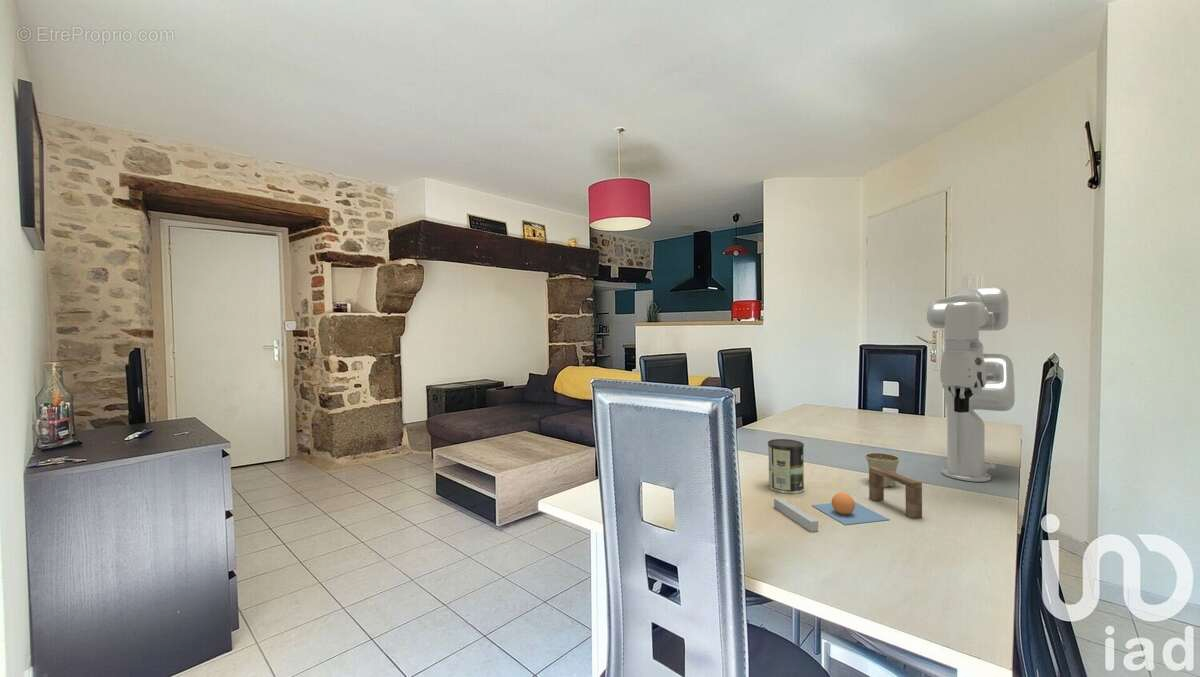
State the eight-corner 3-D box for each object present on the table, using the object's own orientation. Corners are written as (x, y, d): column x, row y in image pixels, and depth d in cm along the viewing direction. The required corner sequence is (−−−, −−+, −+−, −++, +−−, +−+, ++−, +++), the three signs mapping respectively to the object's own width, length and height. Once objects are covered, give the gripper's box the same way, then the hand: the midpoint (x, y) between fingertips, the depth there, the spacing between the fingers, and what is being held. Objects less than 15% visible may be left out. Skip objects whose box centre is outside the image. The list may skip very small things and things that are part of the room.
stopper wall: (780, 506, 129) (780, 497, 129) (818, 531, 114) (818, 520, 114) (774, 507, 129) (774, 498, 129) (810, 531, 113) (810, 521, 113)
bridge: (878, 497, 134) (878, 466, 134) (922, 517, 120) (922, 482, 120) (869, 498, 134) (869, 466, 134) (912, 519, 120) (912, 483, 119)
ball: (831, 513, 126) (847, 504, 127) (846, 521, 121) (862, 511, 122) (824, 495, 125) (840, 486, 126) (838, 503, 120) (855, 493, 121)
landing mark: (852, 501, 132) (852, 500, 132) (889, 520, 119) (889, 519, 119) (811, 505, 129) (811, 505, 129) (844, 525, 117) (844, 524, 117)
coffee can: (800, 483, 148) (799, 439, 148) (807, 494, 138) (807, 447, 138) (765, 481, 150) (765, 438, 150) (771, 493, 140) (770, 446, 140)
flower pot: (869, 487, 143) (869, 459, 143) (861, 478, 152) (861, 451, 152) (904, 490, 140) (904, 461, 140) (894, 480, 149) (894, 453, 149)
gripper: (1000, 347, 124) (1000, 416, 124) (948, 345, 138) (948, 406, 139) (976, 347, 122) (976, 417, 123) (926, 345, 137) (926, 408, 137)
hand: (961, 411), depth 131 cm, fingers closed
